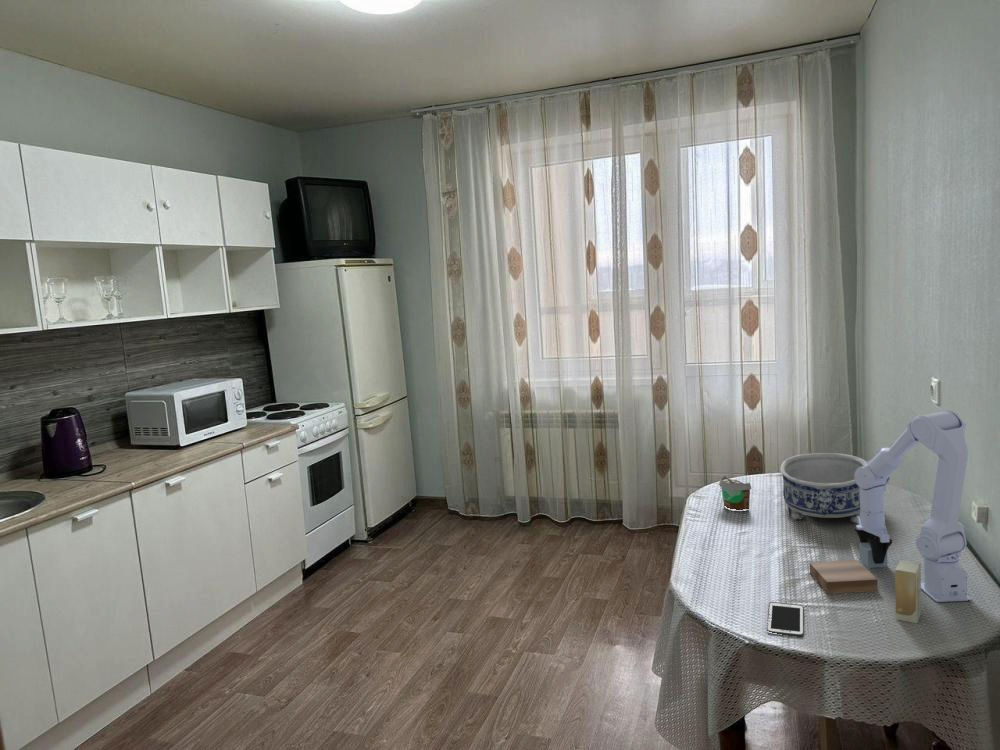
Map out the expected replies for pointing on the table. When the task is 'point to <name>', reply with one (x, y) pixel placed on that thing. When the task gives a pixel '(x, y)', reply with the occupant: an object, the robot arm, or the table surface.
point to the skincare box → (908, 591)
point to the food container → (735, 493)
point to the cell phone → (786, 619)
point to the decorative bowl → (822, 485)
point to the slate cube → (869, 556)
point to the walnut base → (843, 576)
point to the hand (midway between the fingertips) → (873, 558)
